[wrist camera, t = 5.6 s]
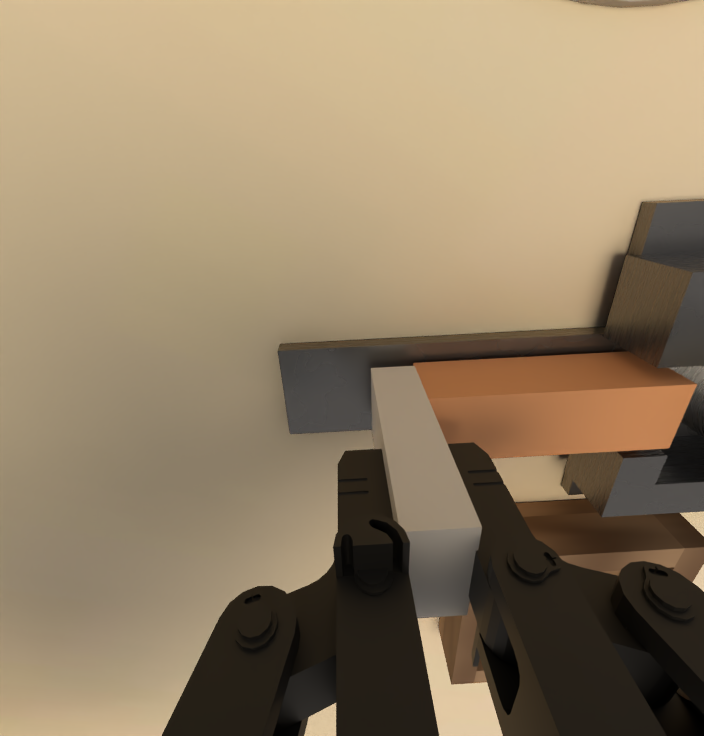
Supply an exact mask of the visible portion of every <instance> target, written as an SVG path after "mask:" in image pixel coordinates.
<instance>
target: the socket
mask: <svg viewBox="0 0 704 736" xmlns="http://www.w3.org/2000/svg"><path fill="white" fill-rule="evenodd" d="M627 351H629V352H630V353H632V354H634V355H635V356H637V357H639V358H641V359H642V360H644V361H646V362H647V363H649V364H651V365H652V366H654V367H656V368H672V367H691V366H704V199H695V200H675V201H654V202H642V206H641V209H640V213H639V216H638V220H637V223H636V227H635V230H634V234H633V237H632V241H631V244H630V247H629V251H628V254H627V255H626V257H625V261H624V264H623V268H622V271H621V275H620V278H619V282H618V285H617V289H616V292H615V296H614V299H613V303H612V306H611V310H610V313H609V317H608V320H607V324H606V327H597V328H578V329H559V330H540V331H520V332H501V333H482V334H463V335H444V336H425V337H406V338H387V339H368V340H349V341H330V342H311V343H292V344H280V346H279V349H278V355H279V362H280V369H281V376H282V383H283V389H284V396H285V403H286V410H287V417H288V424H289V430H290V434H302V433H320V432H338V431H356V430H372V403H371V368H382V367H401V366H413V363H421V362H439V361H458V360H477V359H496V358H514V357H533V356H552V355H570V354H589V353H608V352H627ZM561 486H562V487H563V488H564V490H565V491H566V492H567V494H568V495H577V494H584V495H585V497H586V498H587V499H588V501H589V502H590V503H591V504H592V506H593V507H594V508H595V510H596V511H597V512H598V513H599V515H600V516H601V517H615V516H632V515H649V514H666V513H683V512H700V511H704V438H703V437H702V436H700V435H699V434H698V433H696V432H695V431H693V430H692V429H691V428H689V427H688V426H686V425H685V424H683V423H682V422H680V425H679V427H678V429H677V432H676V434H675V436H674V438H673V441H672V443H671V445H670V448H668V449H650V450H632V451H615V452H597V453H579V454H569V457H568V460H567V464H566V467H565V474H564V477H563V481H562V484H561Z"/></svg>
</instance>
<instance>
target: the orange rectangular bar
mask: <svg viewBox="0 0 704 736" xmlns="http://www.w3.org/2000/svg"><path fill="white" fill-rule="evenodd" d="M413 366H415V368H416V370H417V373H418V375H419V377H420V380H421V382H422V385H423V387H424V389H425V392H426V394H427V397H428V399H429V401H430V404H431V406H432V409H433V411H434V413H435V416H436V418H437V420H438V423H439V425H440V428H441V430H442V432H443V435H444V437H445V440H446V442H447V444H454V443H471V442H474V443H475V444H476V445H478V446H479V447H480V448H481V449H482V450H484V451H485V452H486V453H487V454H488V455H489V457H490V458H508V457H526V456H544V455H561V454H579V453H597V452H615V451H632V450H650V449H668V448H670V445H671V443H672V441H673V438H674V436H675V434H676V432H677V429H678V427H679V425H680V422H681V420H682V418H683V416H684V413H685V411H686V409H687V406H688V404H689V402H690V400H691V397H692V395H693V393H694V391H695V388H696V386H697V384H696V383H694V382H692V381H691V380H689V379H687V378H685V377H684V376H682V375H680V374H678V373H677V372H675V371H673V370H671V369H670V368H656V367H654V366H652V365H651V364H649V363H647V362H646V361H644V360H642V359H641V358H639V357H637V356H635V355H634V354H632V353H630V352H629V351H627V352H608V353H589V354H570V355H552V356H533V357H514V358H496V359H477V360H458V361H439V362H421V363H413Z"/></svg>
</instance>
